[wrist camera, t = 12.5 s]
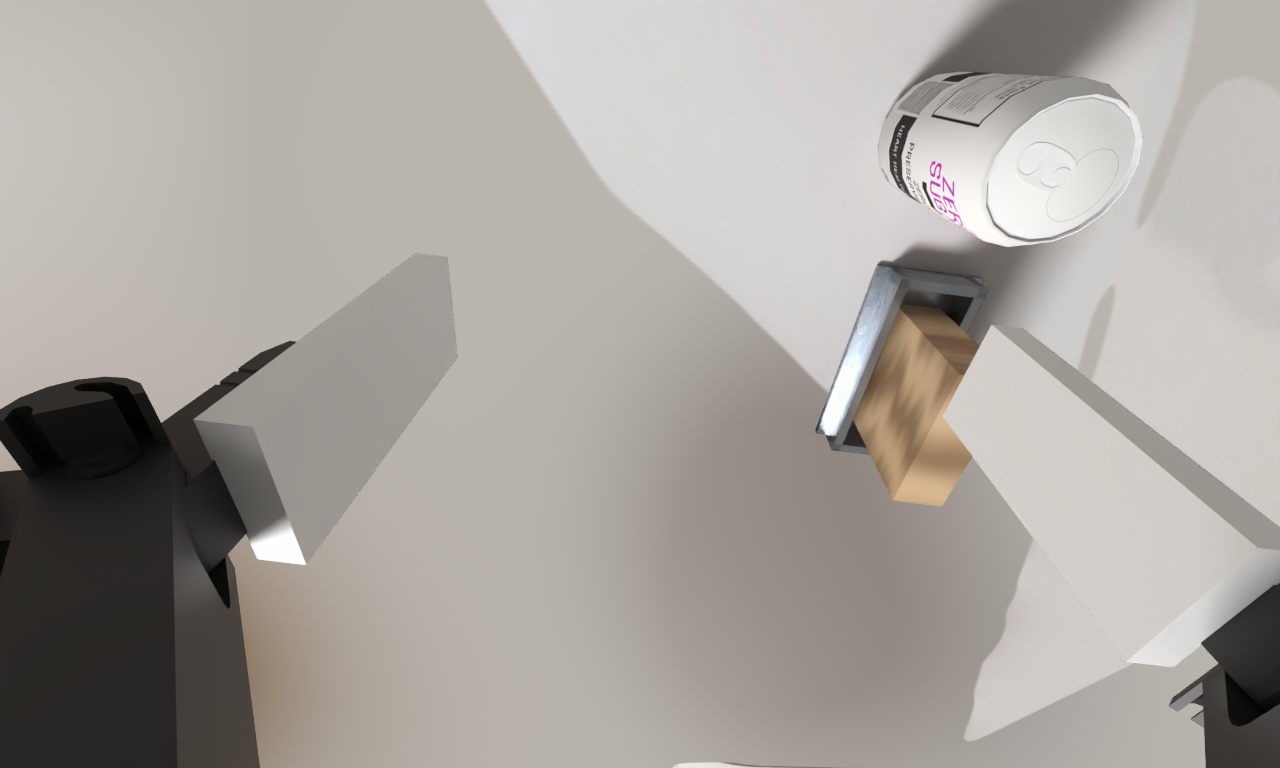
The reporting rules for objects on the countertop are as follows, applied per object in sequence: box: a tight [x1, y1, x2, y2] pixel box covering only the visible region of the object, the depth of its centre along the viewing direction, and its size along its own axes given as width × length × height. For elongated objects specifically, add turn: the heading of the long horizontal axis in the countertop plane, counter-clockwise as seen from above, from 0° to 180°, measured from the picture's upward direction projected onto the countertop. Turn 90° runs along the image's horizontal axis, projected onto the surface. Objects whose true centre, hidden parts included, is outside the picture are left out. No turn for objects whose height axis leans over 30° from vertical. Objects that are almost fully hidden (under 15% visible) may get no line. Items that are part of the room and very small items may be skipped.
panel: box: [853, 304, 980, 506], centre depth 43 cm, size 12×4×12 cm, turn 174°
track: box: [815, 265, 989, 455], centre depth 47 cm, size 18×9×3 cm, turn 174°
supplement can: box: [878, 72, 1143, 247], centre depth 32 cm, size 8×8×15 cm
